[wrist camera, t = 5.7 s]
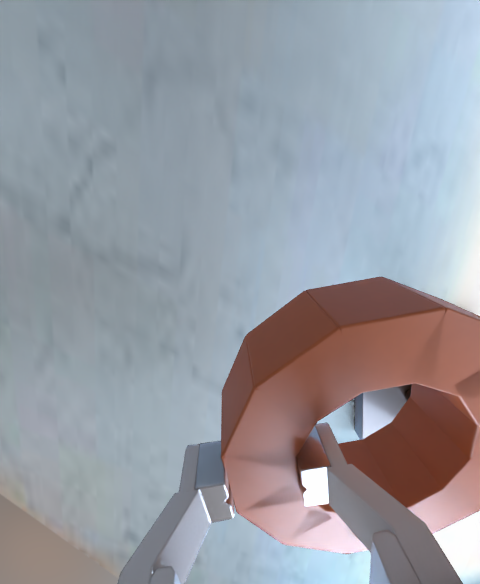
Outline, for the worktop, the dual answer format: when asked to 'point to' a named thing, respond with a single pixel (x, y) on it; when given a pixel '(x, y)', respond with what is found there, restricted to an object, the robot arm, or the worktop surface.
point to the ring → (344, 387)
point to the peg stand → (378, 408)
